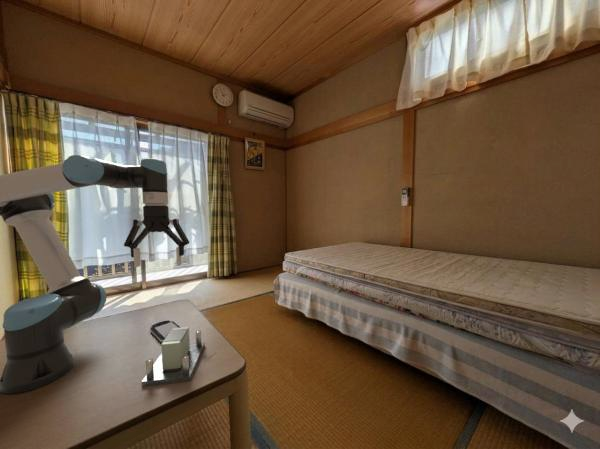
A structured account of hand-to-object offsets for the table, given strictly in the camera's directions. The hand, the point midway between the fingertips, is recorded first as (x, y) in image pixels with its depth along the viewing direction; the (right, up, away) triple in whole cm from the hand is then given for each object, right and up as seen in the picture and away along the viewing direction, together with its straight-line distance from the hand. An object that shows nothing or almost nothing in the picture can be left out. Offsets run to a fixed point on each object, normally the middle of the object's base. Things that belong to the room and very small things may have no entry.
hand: (158, 265), depth 83 cm
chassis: (+10, -31, -6) cm, 33 cm away
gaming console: (-4, -31, +13) cm, 33 cm away
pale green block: (+10, -29, -6) cm, 31 cm away
